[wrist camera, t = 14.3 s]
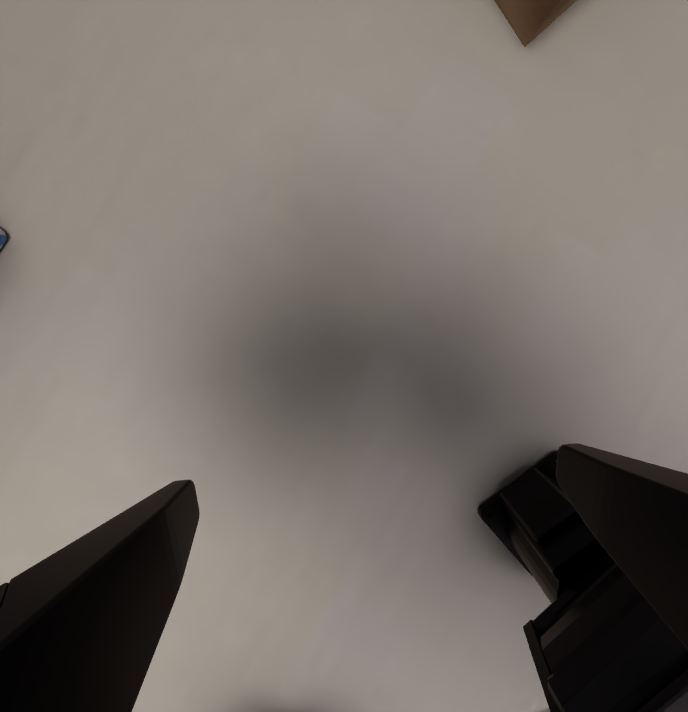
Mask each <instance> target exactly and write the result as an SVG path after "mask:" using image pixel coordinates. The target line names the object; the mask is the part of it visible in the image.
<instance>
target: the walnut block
mask: <svg viewBox="0 0 688 712" xmlns="http://www.w3.org/2000/svg"><path fill="white" fill-rule="evenodd" d="M575 1H577V0H495V2H496V3H497V5H498V6H499V8H500V10H501V11H502V13H503V14H504V16H505V17H506V19H507V20H508V22H509V24H510V25H511V27H512V28H513V30H514V31H515V33H516V34H517V36H518V38H519V39H520V41H521V42H522V44H523V45H524V47H525V46H526V45H527V44H528V43H530V42H531V41H532V40H533V39H534V38H535V37H536V36H537V35H539V34H540V33H541V32H542V31H543V30H544V29H545V28H546V27H548V26H549V25H550V24H551V23H552V22H553V21H554V20H555V19H556V18H558V17H559V16H560V15H561V14H562V13H563V12H564V11H565V10H567V9H568V8H569V7H570V6H571V5H572V4H573V3H574V2H575Z"/></svg>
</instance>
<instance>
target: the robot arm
mask: <svg viewBox="0 0 688 712" xmlns="http://www.w3.org/2000/svg"><path fill="white" fill-rule="evenodd" d="M556 460H557V462H556ZM486 511H489V512H488V513H487V514H484V513H485V512H486ZM478 513H479V515H480V517H481V518H482V520H483V521H484V522H485V523H486V524H487V525H488V526H489V528H490V529H491V530H492V531H493V532H494V533H495V534H496V536H497V537H498V538H499V539H500V540H501V541H502V542H503V544H504V545H505V546H506V547H507V548H508V549H509V550H510V551H511V553H512V554H513V555H514V556H515V557H516V558H517V559H518V561H519V562H520V563H521V564H522V565H523V566H524V567H525V568H526V570H527V571H528V572H529V573H530V574H531V575H532V576H533V577H534V578H535V579H536V581H537V582H538V584H539V585H540V587H541V588H542V590H543V591H544V593H545V594H546V596H547V597H548V599H549V600H550V602H551V603H552V604H550V605H549V606H548V607H547V608H546V609H545V610H544V611H543V612H542V613H541V614H540V615H539V616H538V617H537V618H536V619H534V620H533V621H532V620H530V621H529V622H528V623H527V624H525V625H524V626H523V629H524V632H525V635H526V638H527V641H528V644H529V648H530V651H531V654H532V657H533V660H534V663H535V666H536V669H537V672H538V675H539V678H540V681H541V684H542V687H543V690H544V694H545V697H546V699H547V702H548V706H549V709H550V712H688V474H687V473H683V472H679V471H676V470H672V469H669V468H665V467H661V466H658V465H654V464H650V463H647V462H643V461H640V460H636V459H632V458H629V457H625V456H622V455H618V454H614V453H611V452H607V451H603V450H600V449H596V448H593V447H589V446H585V445H582V444H565V445H561V446H560V447H559V449H558V451H555V452H553V453H551V454H550V455H548V456H547V457H545V458H544V459H543V460H541V461H540V462H539V463H537V464H536V465H535V466H533V467H532V468H531V469H529V470H528V471H527V472H525V473H524V474H522V475H521V476H520V477H518V478H517V479H516V480H514V481H513V482H512V483H510V484H509V485H508V486H506V487H505V488H503V489H502V490H501V491H499V492H498V493H497V494H495V495H494V496H493V497H491V498H490V499H489V500H487V501H486V502H485V503H483V504H482V505H481V506H480V507H479V508H478ZM198 521H199V506H198V501H197V495H196V490H195V485H194V483H193V481H191V480H180V481H174V482H172V483H170V484H168V485H167V486H165V487H163V488H162V489H160V490H158V491H157V492H155V493H153V494H152V495H150V496H149V497H147V498H145V499H144V500H142V501H140V502H139V503H137V504H135V505H134V506H132V507H130V508H129V509H127V510H125V511H124V512H122V513H120V514H119V515H117V516H115V517H114V518H112V519H110V520H109V521H107V522H105V523H104V524H102V525H100V526H99V527H97V528H95V529H94V530H92V531H90V532H89V533H87V534H86V535H84V536H82V537H81V538H79V539H77V540H76V541H74V542H72V543H71V544H69V545H67V546H66V547H64V548H62V549H61V550H59V551H57V552H56V553H54V554H52V555H51V556H49V557H47V558H46V559H44V560H42V561H41V562H39V563H37V564H36V565H34V566H32V567H31V568H29V569H27V570H26V571H24V572H23V573H21V574H19V575H18V576H16V577H14V578H13V579H11V580H10V582H9V583H4V584H2V585H1V586H0V712H132V709H133V707H134V704H135V702H136V699H137V696H138V694H139V691H140V689H141V686H142V684H143V681H144V678H145V676H146V673H147V671H148V668H149V666H150V663H151V660H152V658H153V655H154V653H155V650H156V648H157V645H158V642H159V640H160V637H161V635H162V632H163V630H164V627H165V624H166V622H167V619H168V617H169V614H170V612H171V609H172V607H173V604H174V601H175V599H176V596H177V593H178V591H179V588H180V585H181V582H182V579H183V575H184V572H185V568H186V565H187V561H188V557H189V554H190V550H191V546H192V543H193V539H194V536H195V532H196V528H197V525H198Z"/></svg>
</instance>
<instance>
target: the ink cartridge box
mask: <svg viewBox="0 0 688 712" xmlns="http://www.w3.org/2000/svg"><path fill="white" fill-rule="evenodd" d="M6 239H7V236H6V234H5V232H4V231H3V230H2V229H0V249H1V248H2V246H3V245H4V243H5V242H6Z"/></svg>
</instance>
